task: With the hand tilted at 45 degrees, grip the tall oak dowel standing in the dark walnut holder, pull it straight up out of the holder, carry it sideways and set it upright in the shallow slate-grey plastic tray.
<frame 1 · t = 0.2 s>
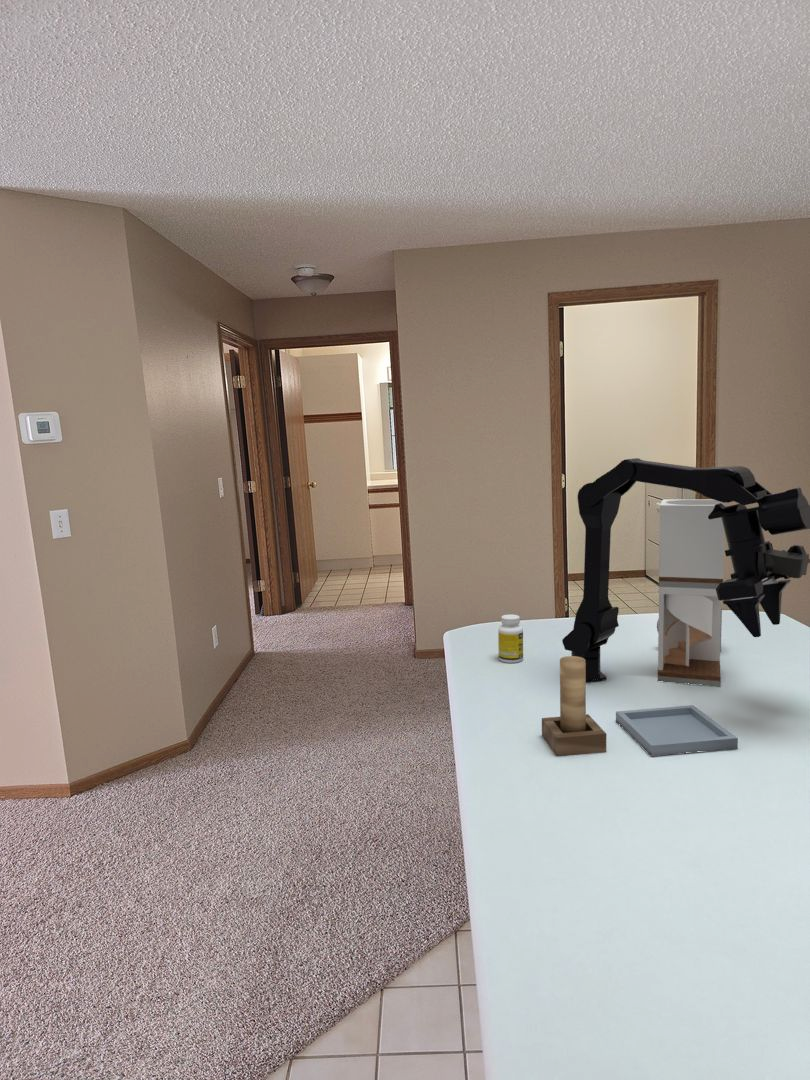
hand: (767, 630, 123), 15 cm above the table, tool pointing down, fingers open, 9 cm apart
plastic tray: (673, 734, 121), on the table
oak dowel: (572, 702, 118), in the walnut holder
walnut holder: (573, 743, 119), on the table
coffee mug: (688, 650, 164), on the table
supplement bottle: (511, 660, 162), on the table
spiral staircase model: (689, 676, 148), on the table
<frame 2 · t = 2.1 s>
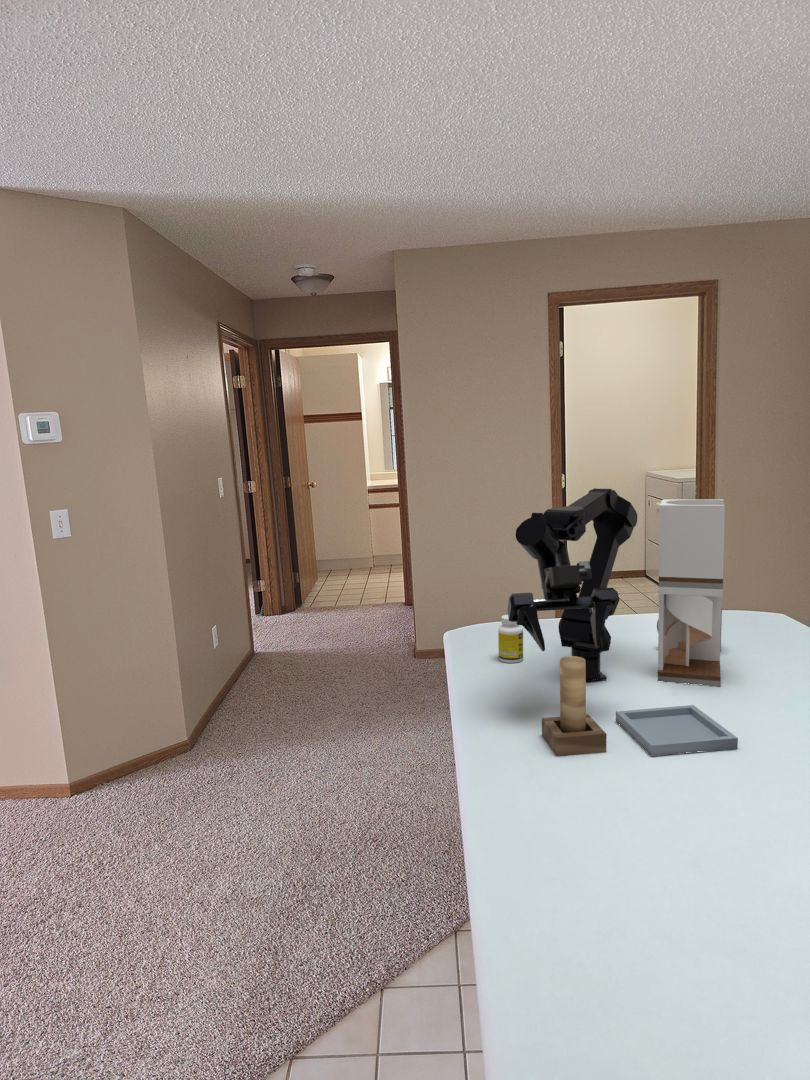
hand: (570, 648, 124), 14 cm above the table, tool tilted 45°, fingers open, 9 cm apart
nothing on the table moved.
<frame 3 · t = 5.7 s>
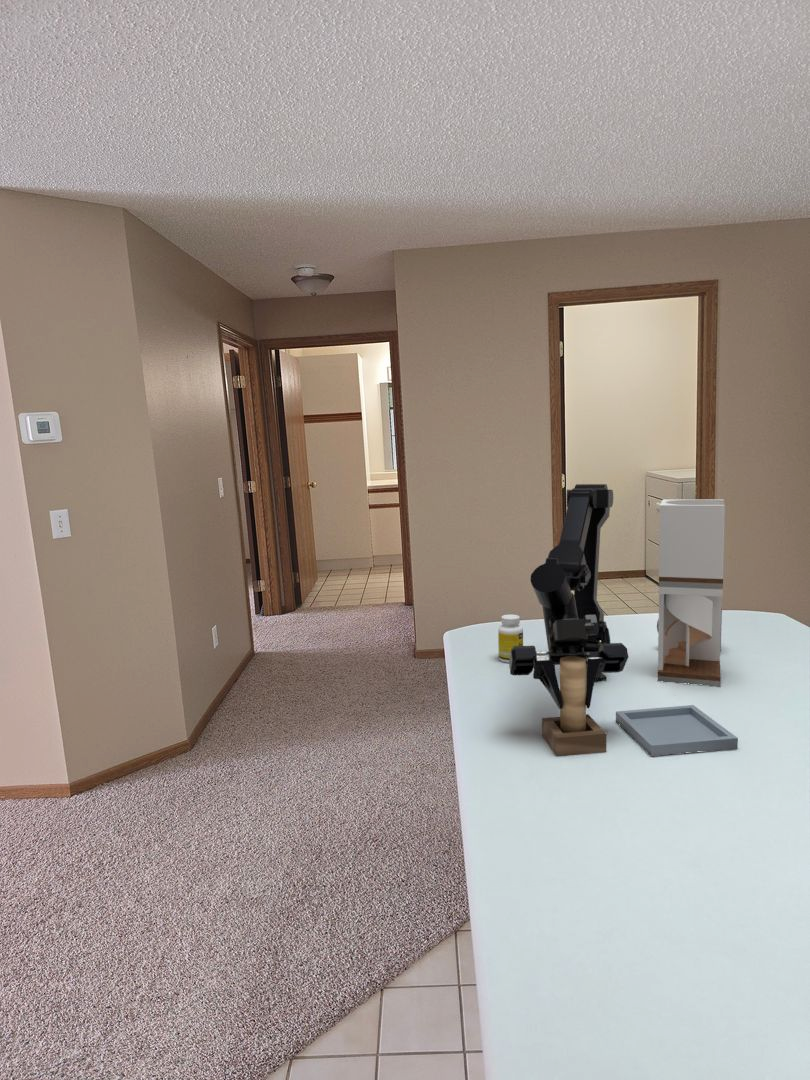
hand: (574, 707, 117), 7 cm above the table, tool tilted 45°, fingers closed on oak dowel, 4 cm apart
oak dowel: (572, 702, 118), in the walnut holder, touching gripper
everything else where it was.
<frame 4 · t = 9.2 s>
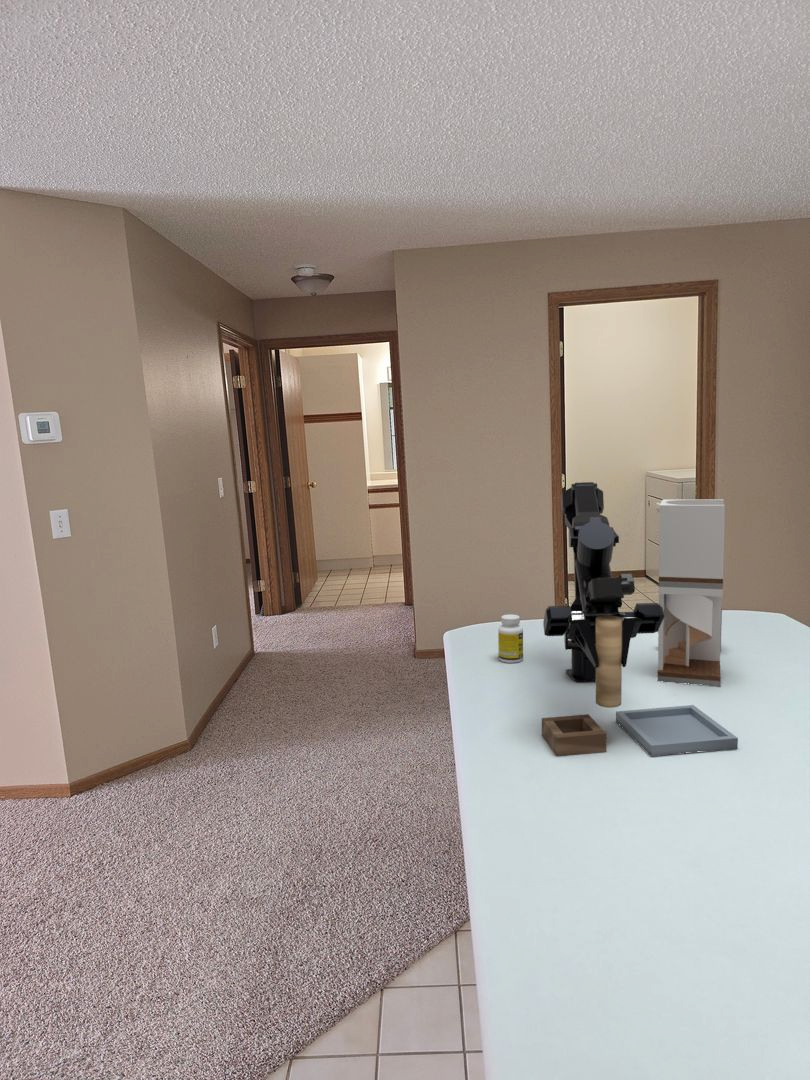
hand: (610, 666, 116), 13 cm above the table, tool tilted 45°, fingers closed on oak dowel, 4 cm apart
oak dowel: (608, 661, 118), point 13 cm above the table, touching gripper
everything else where it was.
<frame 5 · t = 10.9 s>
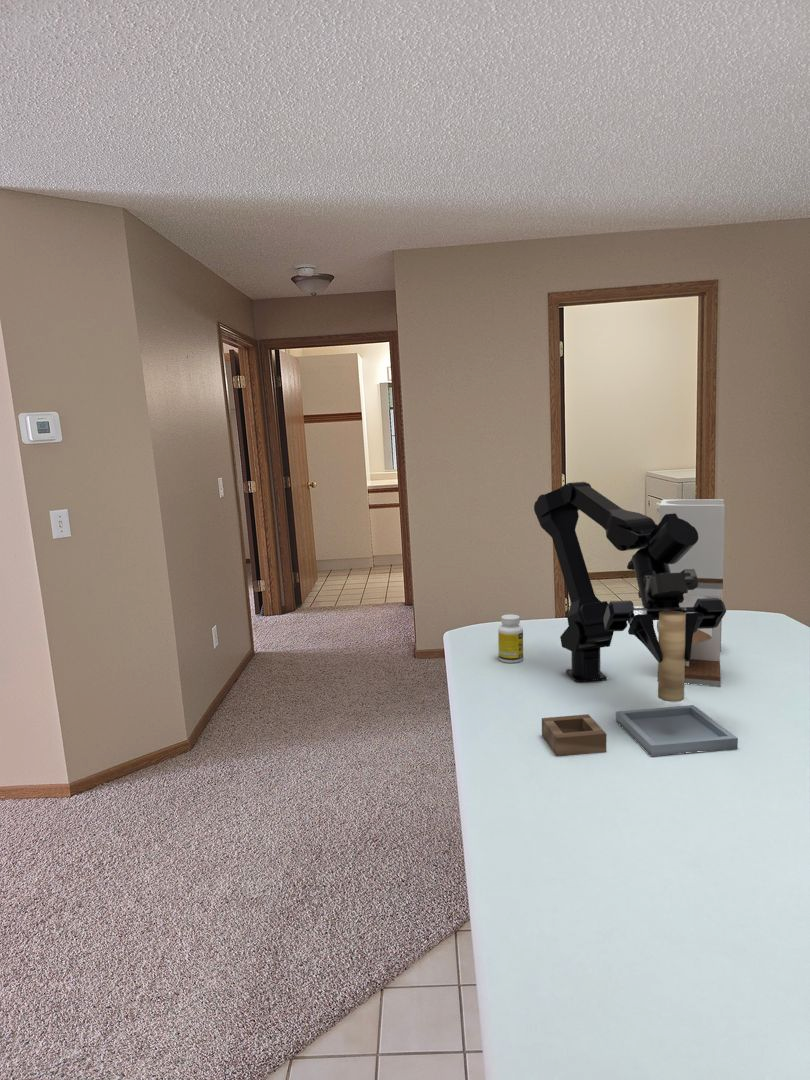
hand: (674, 660, 117), 13 cm above the table, tool tilted 45°, fingers closed on oak dowel, 4 cm apart
oak dowel: (671, 655, 119), point 13 cm above the table, touching gripper
everything else where it was.
when the fingers open (8 cm above the table, at t = 12.6 s): oak dowel stays where it is, resting on plastic tray.
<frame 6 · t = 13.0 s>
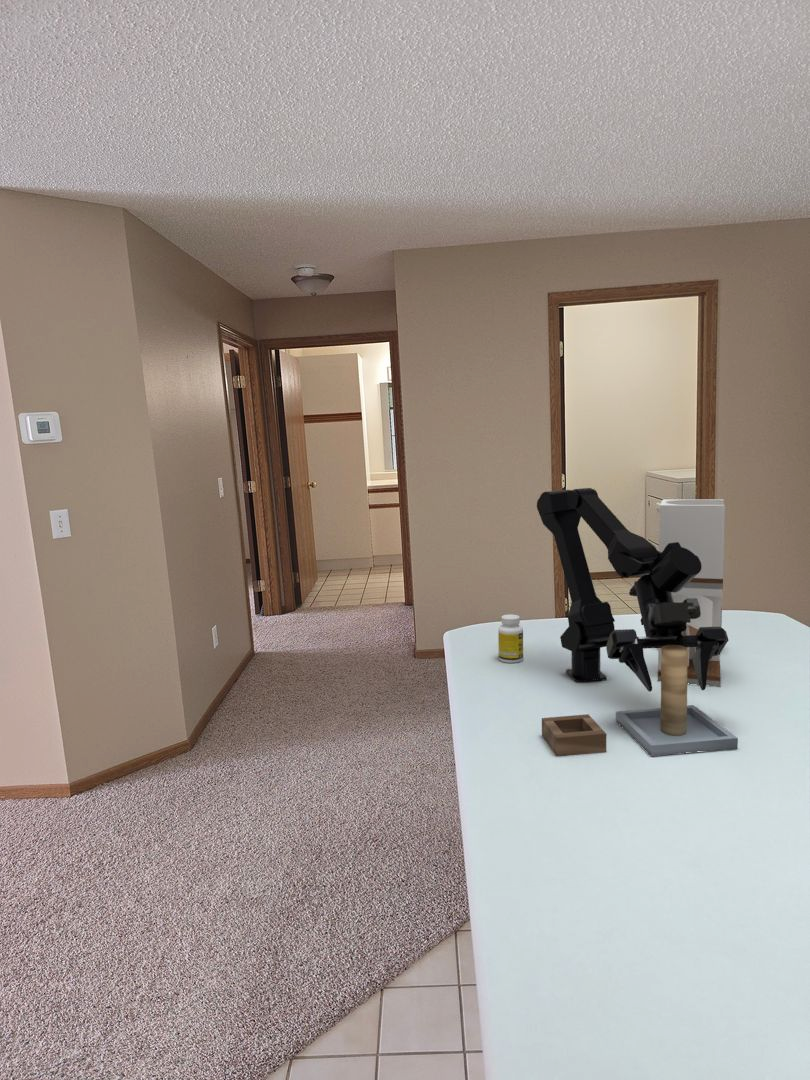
hand: (677, 689, 118), 8 cm above the table, tool tilted 45°, fingers open, 8 cm apart
oak dowel: (673, 690, 120), in the plastic tray, point 8 cm above the table
everything else where it was.
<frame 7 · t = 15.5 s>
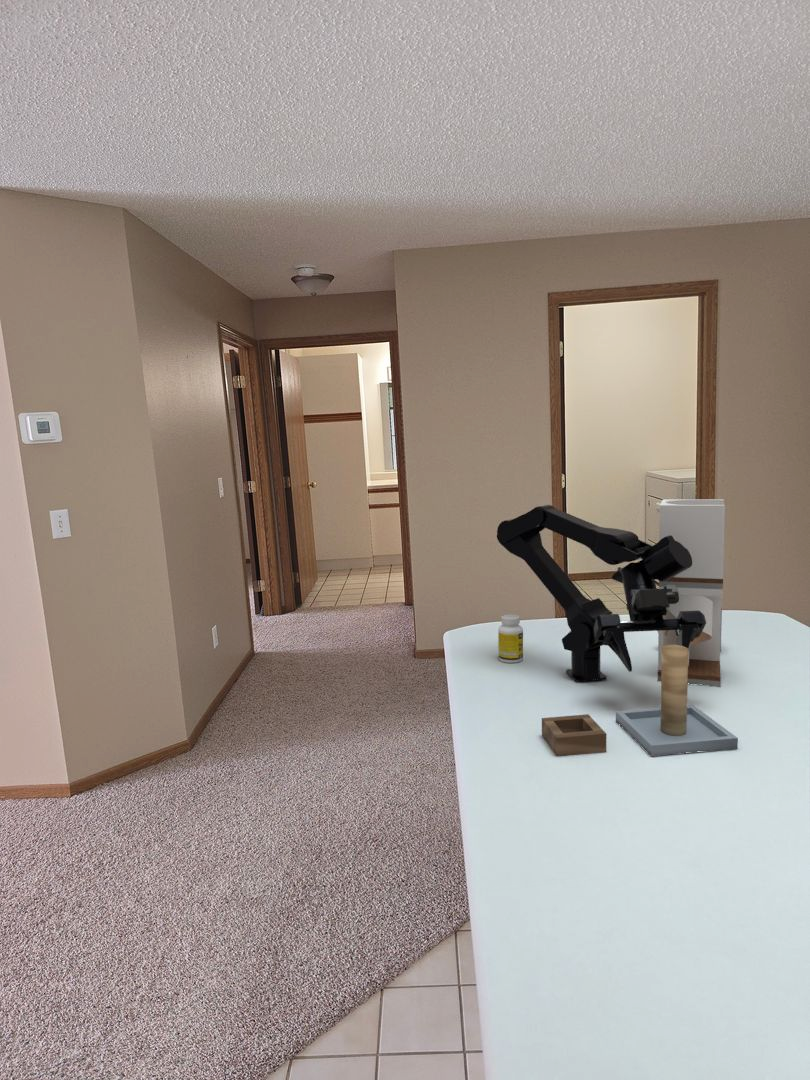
hand: (657, 669, 127), 8 cm above the table, tool tilted 45°, fingers open, 9 cm apart
nothing on the table moved.
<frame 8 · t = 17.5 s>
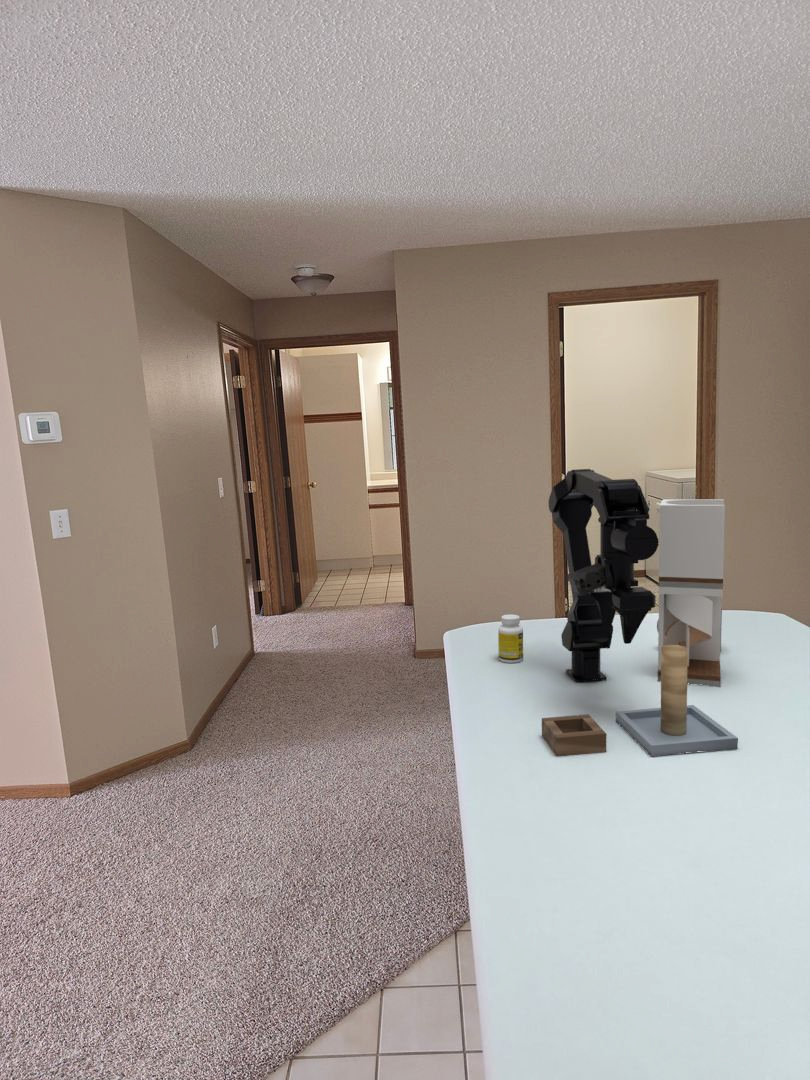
hand: (616, 636, 132), 13 cm above the table, tool pointing down, fingers open, 9 cm apart
nothing on the table moved.
at the end: oak dowel inside the target area on the plastic tray (0.0 cm from its centre), point 7.6 cm above the plastic tray's base; oak dowel tilted 0°; the gripper is holding nothing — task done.
